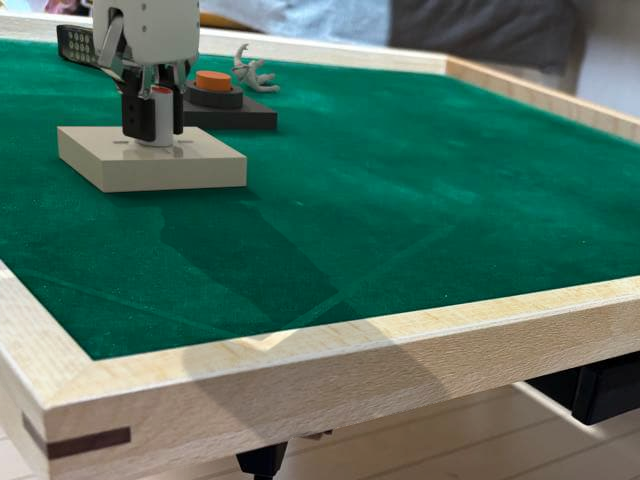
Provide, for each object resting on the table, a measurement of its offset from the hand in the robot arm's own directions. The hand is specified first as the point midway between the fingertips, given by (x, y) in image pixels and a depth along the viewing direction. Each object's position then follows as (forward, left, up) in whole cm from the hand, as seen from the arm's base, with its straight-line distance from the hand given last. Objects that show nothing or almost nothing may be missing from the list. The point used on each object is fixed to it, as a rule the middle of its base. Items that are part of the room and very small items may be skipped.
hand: (153, 133), depth 86 cm
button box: (+16, +20, -4) cm, 26 cm away
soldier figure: (+31, +38, -4) cm, 49 cm away
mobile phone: (+13, +45, -4) cm, 47 cm away
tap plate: (0, 0, -4) cm, 4 cm away
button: (+16, +20, 0) cm, 26 cm away
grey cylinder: (0, 0, -1) cm, 1 cm away
